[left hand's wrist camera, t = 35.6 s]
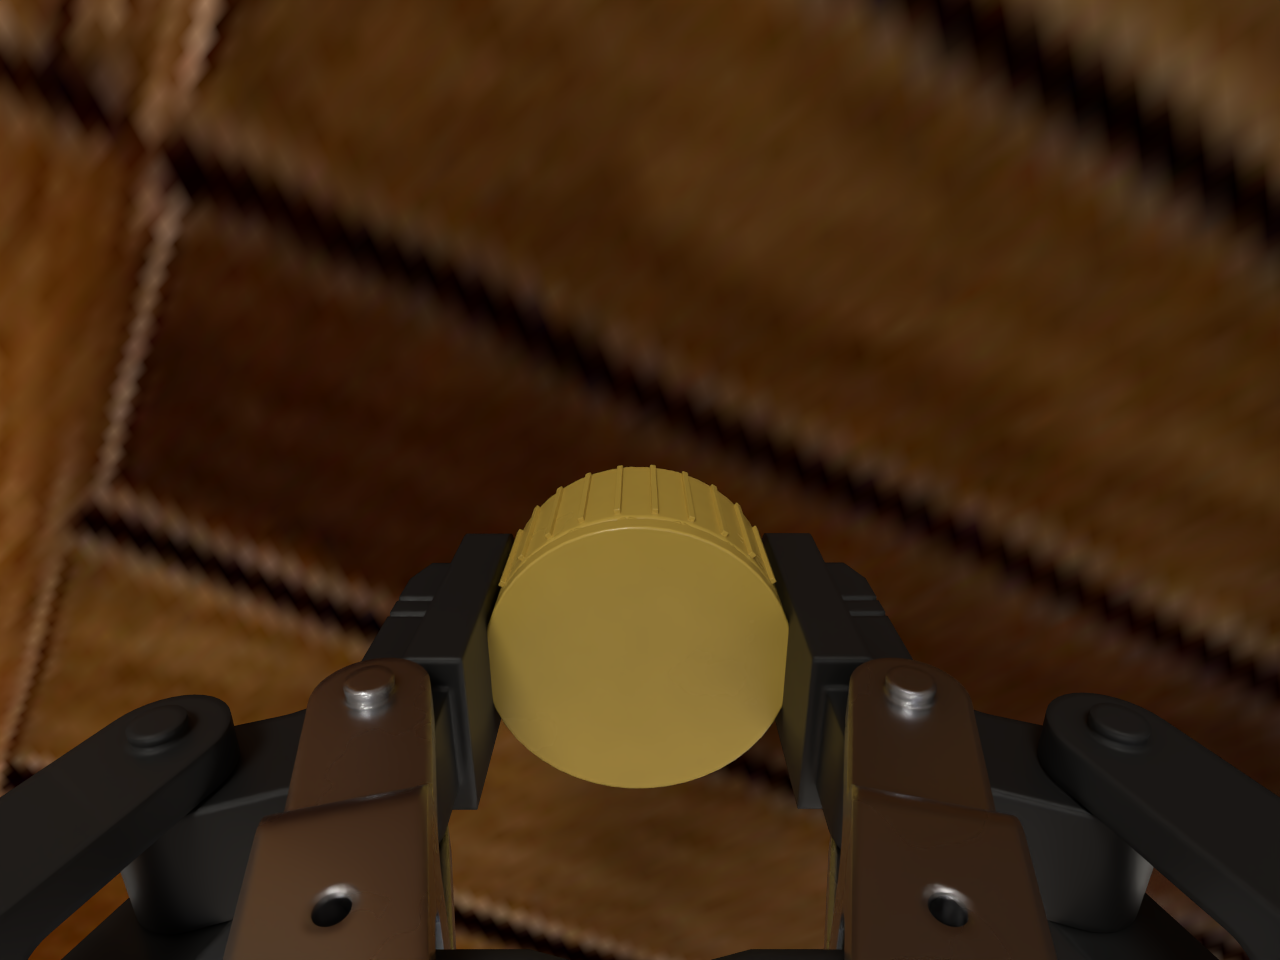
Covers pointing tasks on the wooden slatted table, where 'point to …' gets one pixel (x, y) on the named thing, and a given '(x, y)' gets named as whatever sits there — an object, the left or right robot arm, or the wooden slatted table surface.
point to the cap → (638, 631)
